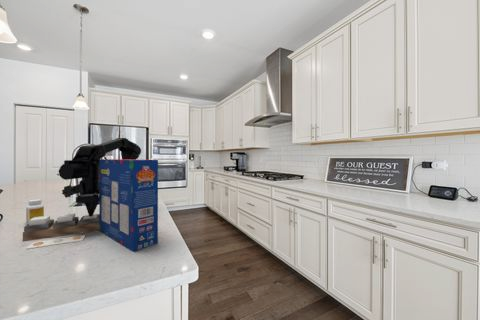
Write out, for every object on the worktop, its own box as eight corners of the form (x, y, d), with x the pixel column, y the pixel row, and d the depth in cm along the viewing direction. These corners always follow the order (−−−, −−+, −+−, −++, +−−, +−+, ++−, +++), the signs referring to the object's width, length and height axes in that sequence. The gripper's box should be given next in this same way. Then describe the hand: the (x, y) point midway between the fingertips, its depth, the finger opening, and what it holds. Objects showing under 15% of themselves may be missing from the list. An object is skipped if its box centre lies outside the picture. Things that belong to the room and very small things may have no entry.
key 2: (98, 219, 83) (98, 213, 83) (96, 222, 79) (96, 216, 79) (85, 220, 81) (85, 215, 81) (82, 223, 77) (82, 218, 77)
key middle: (75, 218, 79) (75, 213, 79) (72, 221, 76) (72, 216, 76) (60, 220, 77) (60, 214, 77) (57, 223, 73) (57, 217, 73)
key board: (101, 225, 85) (101, 213, 85) (99, 230, 79) (99, 218, 79) (31, 234, 74) (31, 221, 74) (22, 241, 68) (22, 227, 68)
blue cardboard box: (157, 243, 67) (157, 159, 67) (133, 252, 61) (133, 160, 60) (121, 225, 84) (121, 159, 84) (99, 231, 78) (99, 159, 78)
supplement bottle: (47, 220, 91) (47, 199, 91) (33, 224, 85) (33, 201, 85) (36, 220, 91) (36, 198, 91) (22, 224, 86) (22, 201, 86)
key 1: (50, 221, 76) (50, 215, 76) (45, 224, 72) (45, 218, 72) (34, 223, 74) (34, 217, 74) (28, 226, 70) (28, 220, 70)
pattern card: (85, 235, 73) (85, 234, 73) (82, 240, 69) (82, 239, 69) (33, 243, 67) (33, 241, 67) (26, 249, 62) (26, 247, 62)
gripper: (71, 175, 84) (71, 213, 84) (56, 180, 68) (56, 226, 68) (103, 175, 90) (103, 209, 90) (96, 178, 73) (96, 221, 73)
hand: (90, 216), depth 80 cm, fingers closed, pressing on key 2
